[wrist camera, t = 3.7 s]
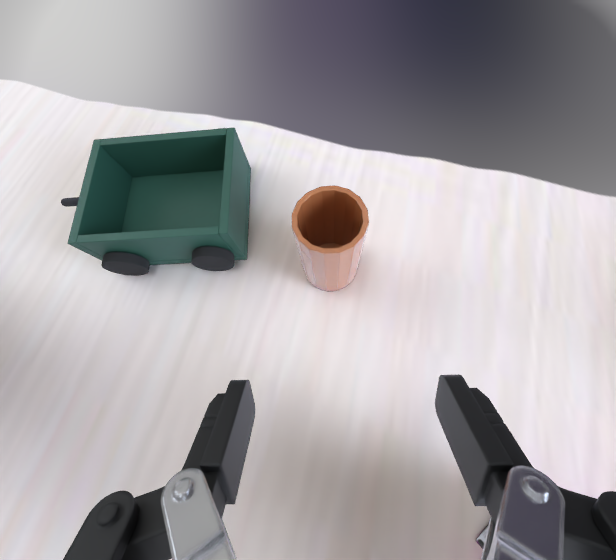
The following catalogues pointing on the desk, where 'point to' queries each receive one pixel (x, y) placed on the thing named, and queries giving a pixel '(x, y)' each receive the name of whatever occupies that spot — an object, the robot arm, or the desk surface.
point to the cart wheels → (138, 265)
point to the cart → (164, 196)
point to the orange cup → (330, 235)
